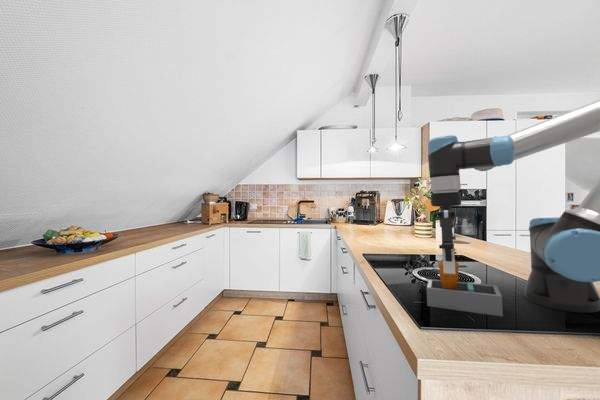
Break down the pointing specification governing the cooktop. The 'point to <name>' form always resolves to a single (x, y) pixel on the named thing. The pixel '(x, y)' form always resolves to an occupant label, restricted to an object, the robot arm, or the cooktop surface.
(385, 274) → the cooktop surface
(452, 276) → the carrot
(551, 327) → the cooktop surface
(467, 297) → the grey open box
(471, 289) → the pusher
